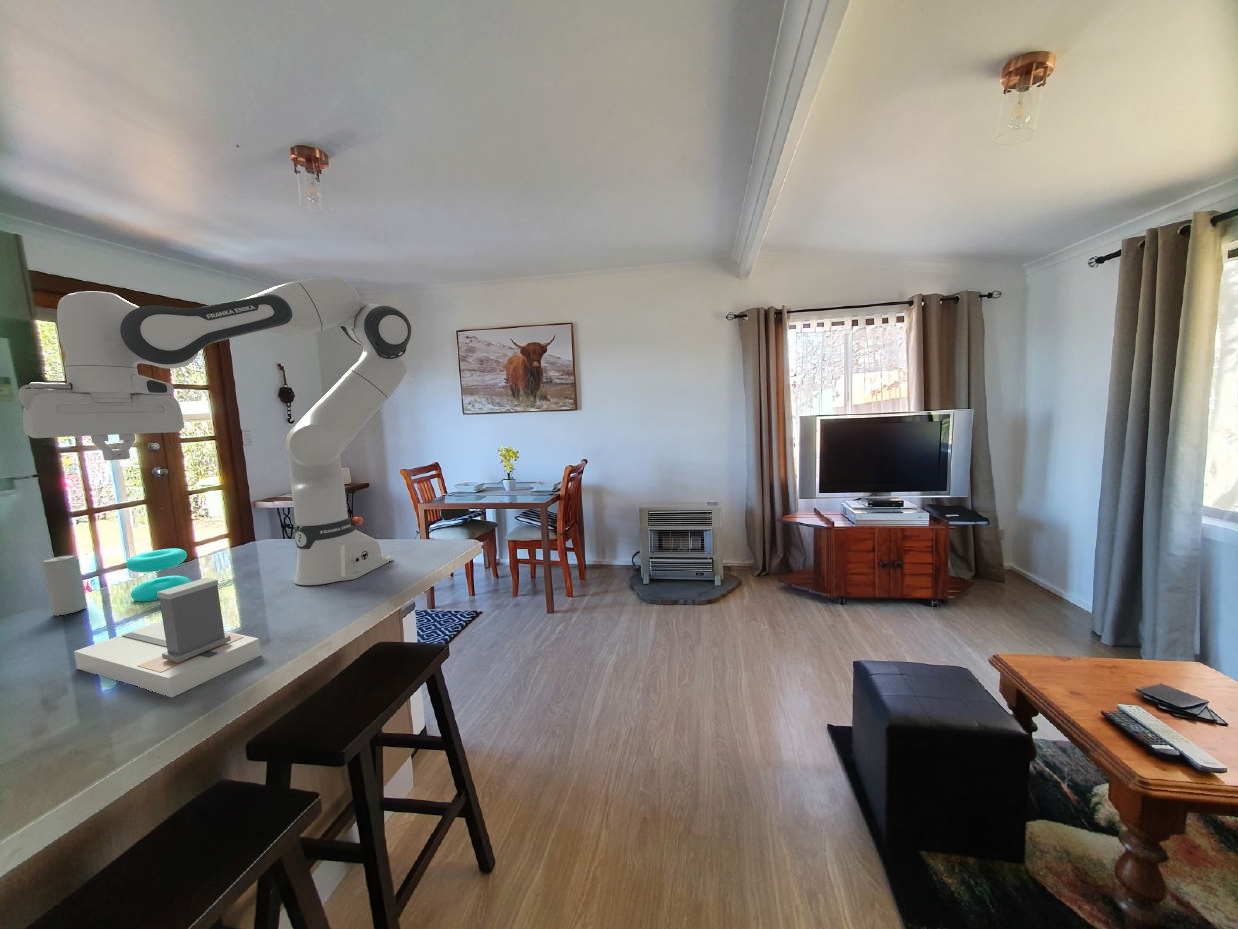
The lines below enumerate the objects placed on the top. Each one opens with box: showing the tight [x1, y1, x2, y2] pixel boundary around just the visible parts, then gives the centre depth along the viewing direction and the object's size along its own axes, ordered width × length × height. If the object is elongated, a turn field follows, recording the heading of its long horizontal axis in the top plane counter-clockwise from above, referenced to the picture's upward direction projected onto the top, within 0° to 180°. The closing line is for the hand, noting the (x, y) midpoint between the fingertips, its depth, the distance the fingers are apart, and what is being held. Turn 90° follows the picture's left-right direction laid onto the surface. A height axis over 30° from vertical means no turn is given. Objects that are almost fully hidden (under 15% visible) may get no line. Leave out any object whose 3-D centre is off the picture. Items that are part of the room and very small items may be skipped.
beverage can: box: [42, 554, 87, 617], centre depth 98 cm, size 5×5×12 cm
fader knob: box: [157, 577, 231, 663], centre depth 72 cm, size 4×7×10 cm, turn 160°
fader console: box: [73, 620, 262, 699], centre depth 76 cm, size 26×12×3 cm, turn 70°
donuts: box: [125, 547, 192, 602], centre depth 107 cm, size 10×10×10 cm
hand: (117, 459), depth 85 cm, fingers closed
